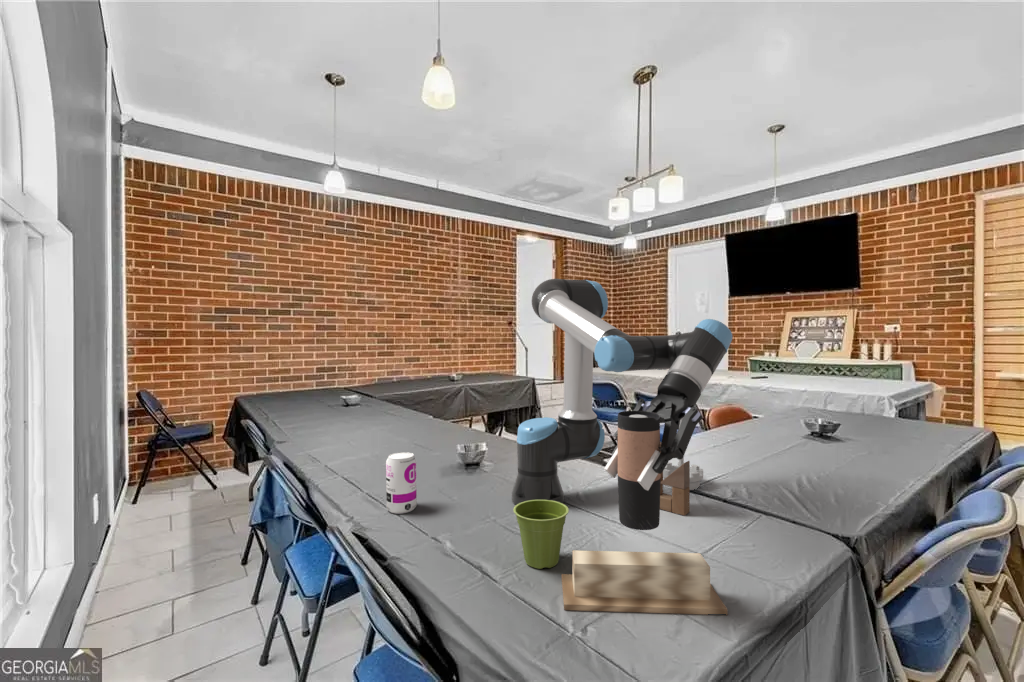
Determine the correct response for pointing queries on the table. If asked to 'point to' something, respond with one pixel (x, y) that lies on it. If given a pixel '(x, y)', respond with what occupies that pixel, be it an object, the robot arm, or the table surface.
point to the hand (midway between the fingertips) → (625, 479)
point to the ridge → (640, 583)
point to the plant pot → (541, 531)
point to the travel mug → (637, 469)
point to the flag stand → (695, 472)
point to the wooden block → (677, 490)
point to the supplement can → (401, 482)
